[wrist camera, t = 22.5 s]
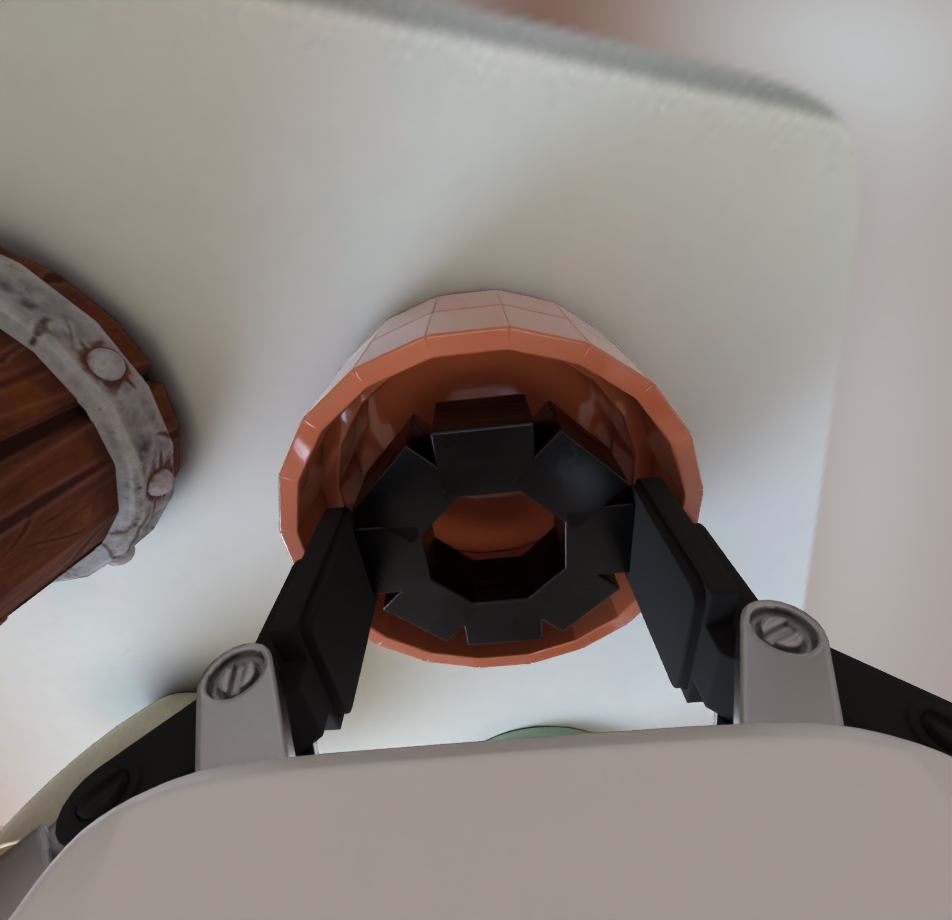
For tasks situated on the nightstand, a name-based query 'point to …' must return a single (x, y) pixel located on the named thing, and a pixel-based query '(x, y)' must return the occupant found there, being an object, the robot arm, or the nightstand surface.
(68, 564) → the mug
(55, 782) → the flower pot
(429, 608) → the ring
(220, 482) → the nightstand surface
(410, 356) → the bowl
